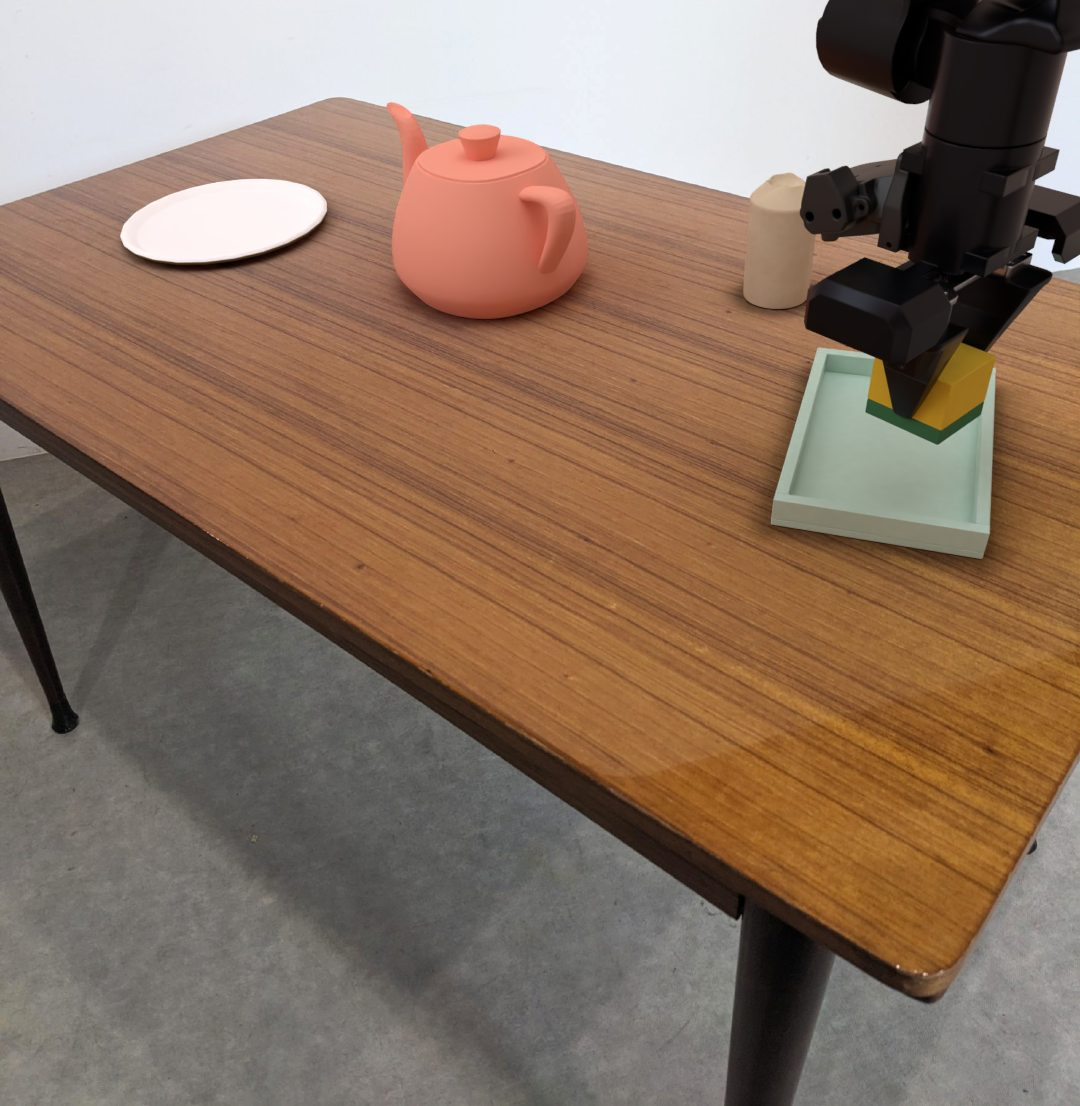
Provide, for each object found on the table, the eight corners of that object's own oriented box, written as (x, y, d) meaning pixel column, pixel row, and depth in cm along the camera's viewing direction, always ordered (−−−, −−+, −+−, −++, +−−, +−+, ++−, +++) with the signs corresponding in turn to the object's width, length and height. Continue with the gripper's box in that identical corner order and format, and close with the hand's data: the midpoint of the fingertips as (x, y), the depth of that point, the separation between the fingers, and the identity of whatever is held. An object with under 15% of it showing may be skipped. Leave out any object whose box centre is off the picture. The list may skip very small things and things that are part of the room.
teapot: (336, 265, 99) (309, 118, 91) (478, 213, 107) (465, 74, 98) (496, 359, 84) (481, 195, 75) (649, 291, 92) (651, 135, 83)
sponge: (981, 415, 62) (996, 355, 59) (937, 445, 60) (951, 385, 57) (908, 384, 65) (920, 326, 62) (864, 412, 63) (874, 353, 60)
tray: (982, 559, 63) (989, 533, 61) (770, 524, 66) (773, 499, 65) (990, 391, 77) (996, 367, 75) (814, 370, 80) (817, 346, 79)
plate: (84, 237, 108) (80, 226, 107) (250, 175, 119) (248, 163, 118) (198, 292, 96) (195, 279, 96) (370, 217, 108) (368, 205, 107)
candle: (813, 308, 88) (828, 190, 81) (747, 311, 88) (756, 193, 81) (802, 279, 92) (815, 164, 85) (738, 281, 92) (747, 168, 86)
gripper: (948, 57, 61) (902, 302, 71) (734, 142, 52) (716, 409, 62) (1138, 94, 54) (1058, 360, 64) (930, 200, 45) (875, 489, 56)
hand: (926, 399), depth 62 cm, fingers closed on sponge, 4 cm apart
